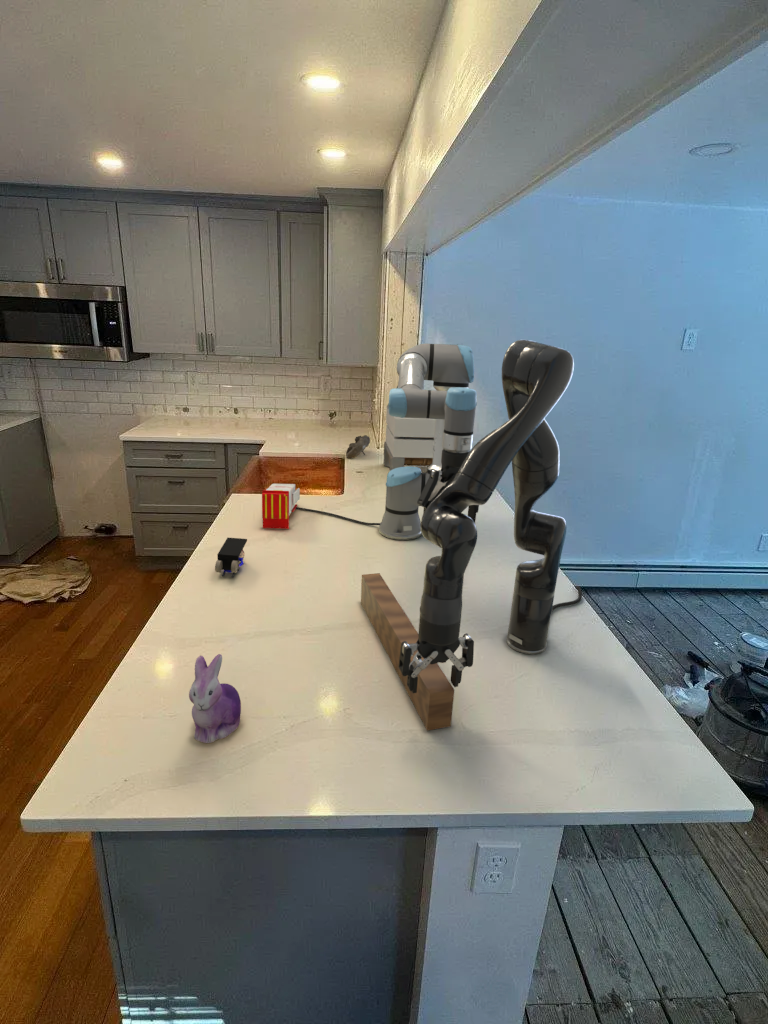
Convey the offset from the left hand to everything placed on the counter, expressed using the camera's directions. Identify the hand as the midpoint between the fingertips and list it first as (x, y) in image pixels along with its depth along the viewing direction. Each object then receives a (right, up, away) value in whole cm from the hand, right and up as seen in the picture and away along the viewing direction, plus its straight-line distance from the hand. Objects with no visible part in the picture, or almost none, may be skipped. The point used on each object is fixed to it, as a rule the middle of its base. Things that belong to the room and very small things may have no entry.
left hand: (450, 527), depth 152 cm
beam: (-14, -29, -22) cm, 39 cm away
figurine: (-49, -36, -47) cm, 76 cm away
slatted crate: (0, +23, +123) cm, 125 cm away
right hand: (-8, -30, -43) cm, 53 cm away
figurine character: (-63, -13, +16) cm, 66 cm away
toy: (-56, +3, +60) cm, 82 cm away
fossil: (-32, +35, +152) cm, 159 cm away
